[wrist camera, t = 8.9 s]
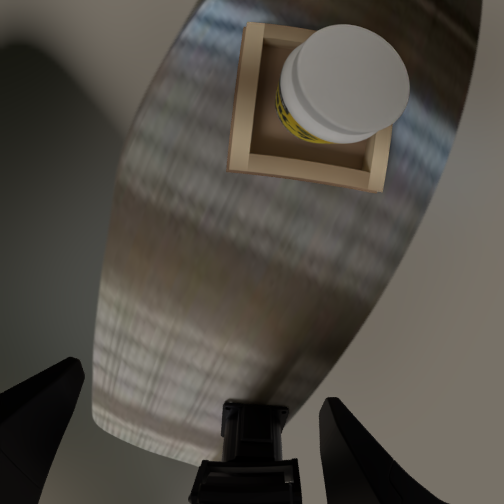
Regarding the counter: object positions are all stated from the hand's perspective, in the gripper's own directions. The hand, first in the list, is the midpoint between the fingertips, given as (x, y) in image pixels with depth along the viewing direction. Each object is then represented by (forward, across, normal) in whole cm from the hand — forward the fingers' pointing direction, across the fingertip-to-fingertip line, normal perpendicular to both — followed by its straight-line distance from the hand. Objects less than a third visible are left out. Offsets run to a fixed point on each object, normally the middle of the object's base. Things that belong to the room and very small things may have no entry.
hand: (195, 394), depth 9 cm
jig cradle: (+12, -4, -11) cm, 17 cm away
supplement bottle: (+11, -4, -11) cm, 16 cm away
